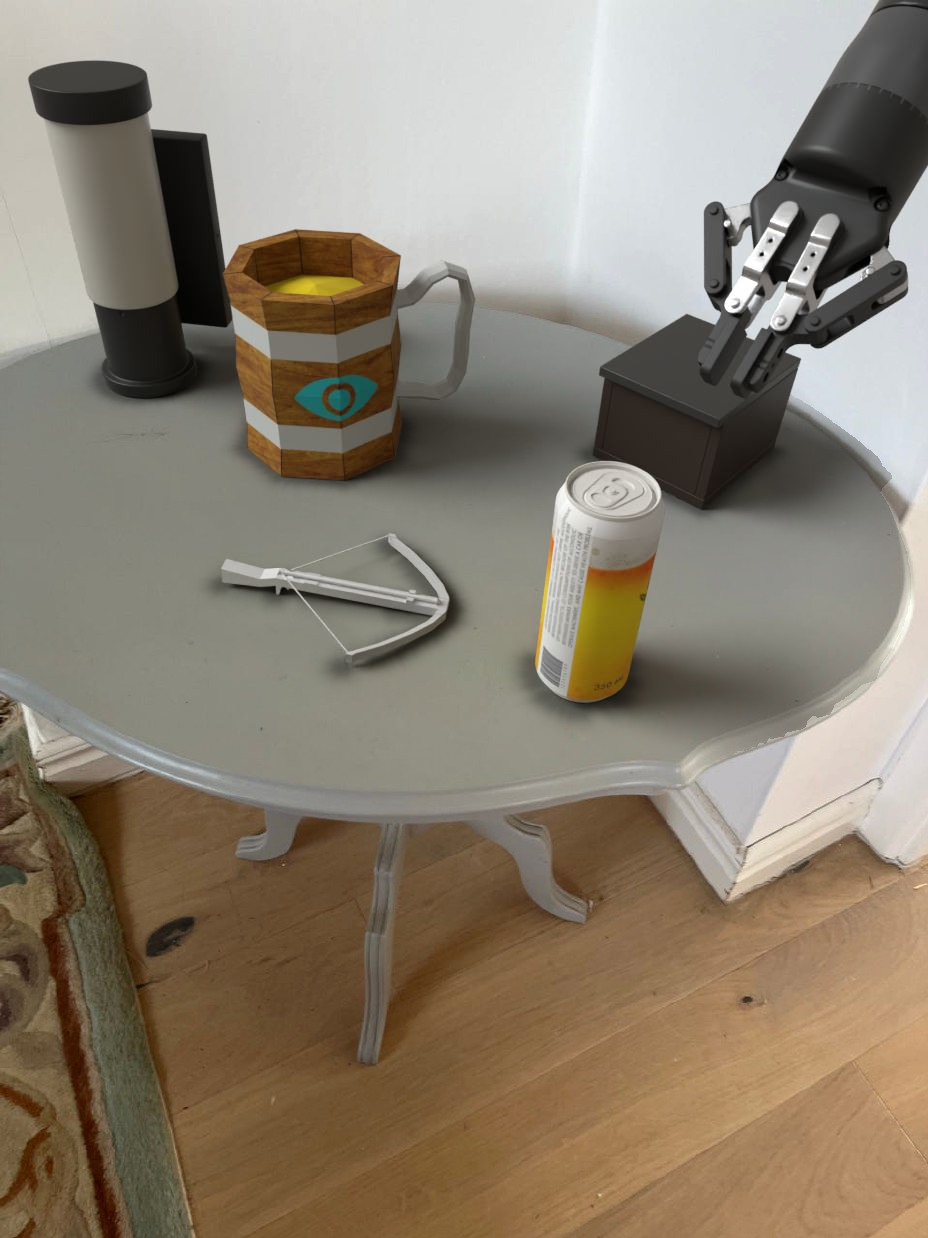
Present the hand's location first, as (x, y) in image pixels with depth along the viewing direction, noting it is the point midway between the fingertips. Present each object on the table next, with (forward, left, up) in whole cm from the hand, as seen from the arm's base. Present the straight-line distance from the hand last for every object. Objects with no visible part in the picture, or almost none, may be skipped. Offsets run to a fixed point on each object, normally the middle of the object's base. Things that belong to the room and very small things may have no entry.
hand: (723, 385), depth 57 cm
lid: (+9, -16, -9) cm, 20 cm away
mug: (+31, +1, -17) cm, 35 cm away
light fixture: (+52, +7, -17) cm, 55 cm away
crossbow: (+17, +17, -17) cm, 29 cm away
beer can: (0, +11, -17) cm, 20 cm away
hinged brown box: (+9, -16, -17) cm, 25 cm away
